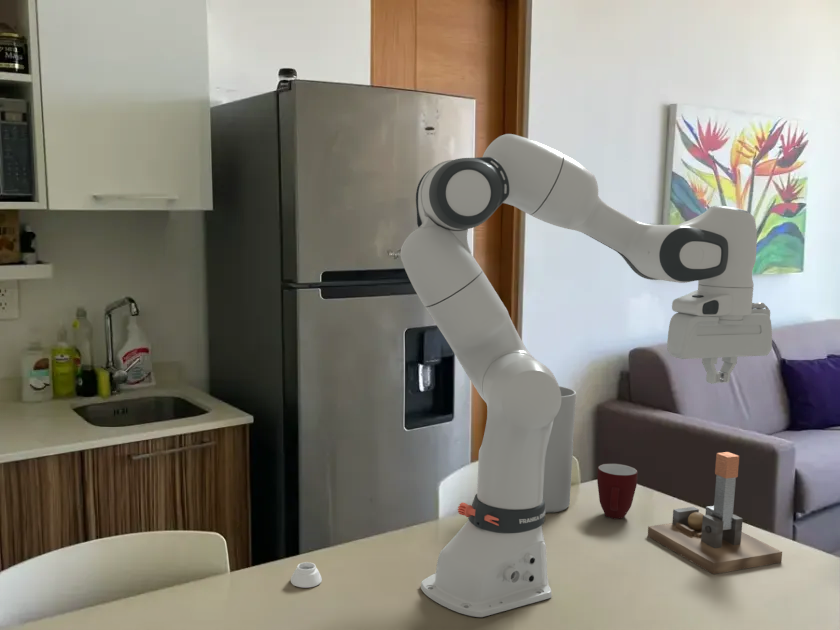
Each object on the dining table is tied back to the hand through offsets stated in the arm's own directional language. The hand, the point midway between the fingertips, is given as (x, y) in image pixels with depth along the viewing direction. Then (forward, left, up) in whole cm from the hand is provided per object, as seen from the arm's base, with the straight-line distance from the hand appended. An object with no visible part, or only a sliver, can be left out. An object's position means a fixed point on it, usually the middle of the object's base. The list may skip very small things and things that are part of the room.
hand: (717, 382), depth 139 cm
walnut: (+13, +8, -32) cm, 35 cm away
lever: (+10, +2, -29) cm, 31 cm away
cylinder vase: (+4, +40, -34) cm, 53 cm away
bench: (+11, +4, -34) cm, 36 cm away
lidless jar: (-57, +40, -34) cm, 78 cm away
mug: (+10, +25, -34) cm, 44 cm away
